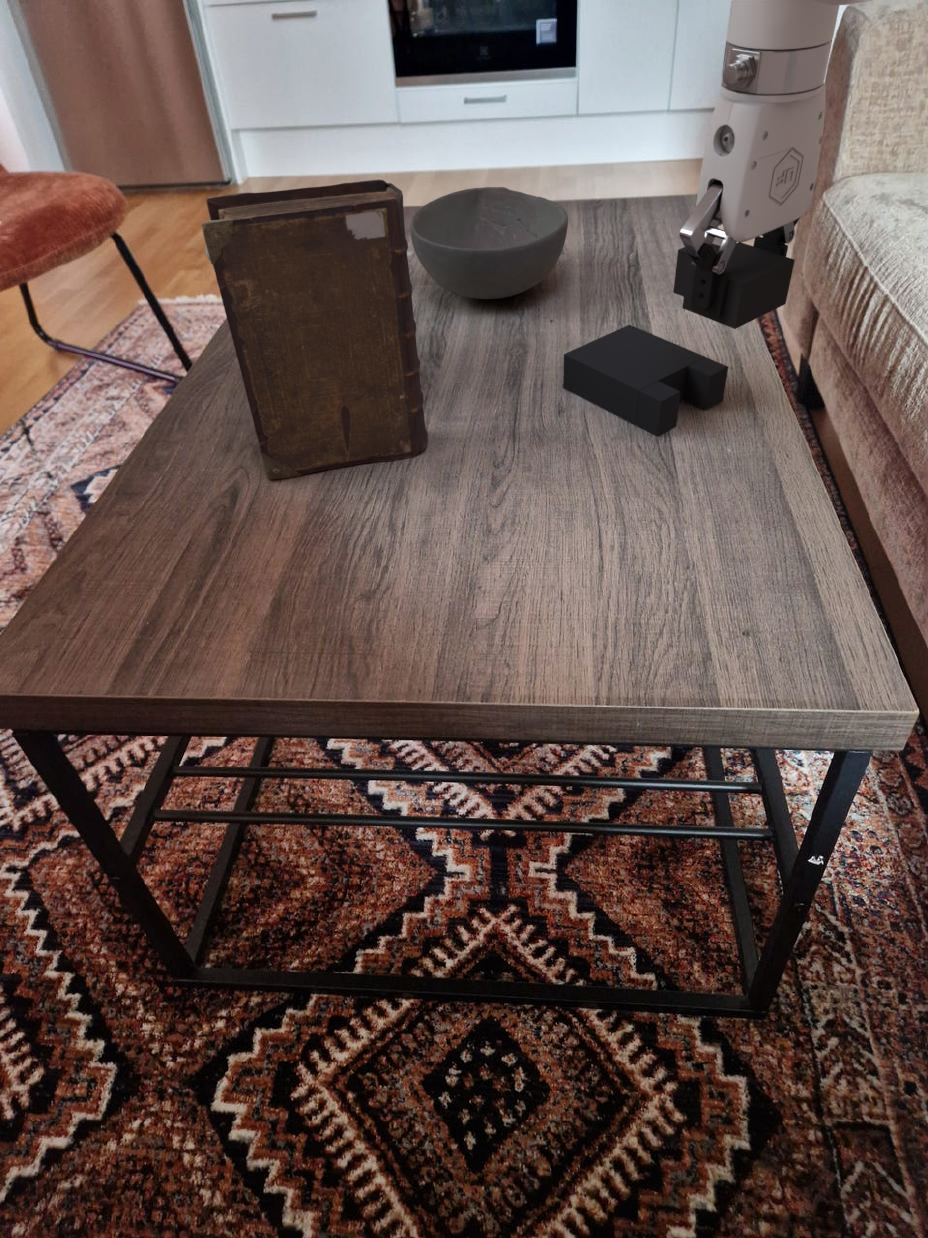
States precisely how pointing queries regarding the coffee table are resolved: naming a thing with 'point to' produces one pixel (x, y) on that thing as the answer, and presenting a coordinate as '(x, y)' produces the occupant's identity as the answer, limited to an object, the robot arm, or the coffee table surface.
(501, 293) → the bowl
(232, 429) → the coffee table surface
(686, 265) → the pad
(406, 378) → the book
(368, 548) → the coffee table surface
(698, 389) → the notch pad
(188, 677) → the coffee table surface
